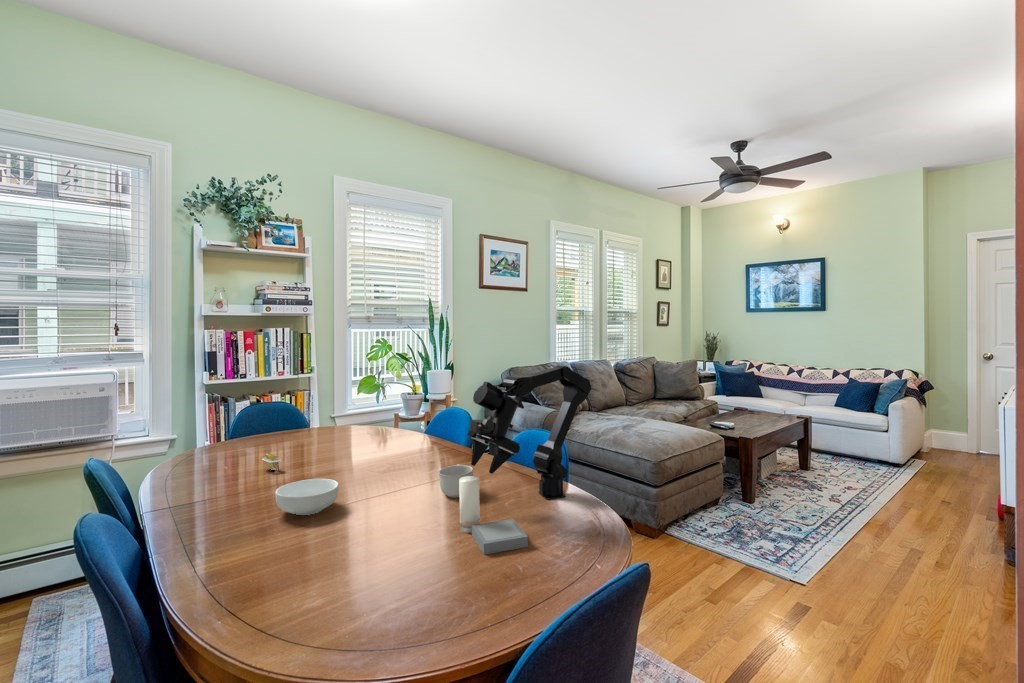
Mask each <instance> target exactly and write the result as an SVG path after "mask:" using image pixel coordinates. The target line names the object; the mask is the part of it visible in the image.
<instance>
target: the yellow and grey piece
mask: <svg viewBox="0 0 1024 683" xmlns="http://www.w3.org/2000/svg"><path fill="white" fill-rule="evenodd" d="M261 460H262V461H264V462H266V463H267V466H268V465H269V468H270V469H271V470H272V469H273V468H276V469H279V464H280V462H282V461H283V459H282V458H279V457H278V455H277V454H274V453H272V452H269V454H266V453H265V456H264V457H262V458H261ZM272 467H273V468H272ZM269 468H268V469H269ZM270 469H269V470H270ZM271 470H270V471H271Z"/></svg>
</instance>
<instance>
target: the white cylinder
mask: <svg viewBox="0 0 1024 683" xmlns="http://www.w3.org/2000/svg"><path fill="white" fill-rule="evenodd" d="M458 498H459V530H460V532H461V533H467V534H469V533H471V534H472V525H476V524H481V518H480V516H481V515H480V514H481V512H480V511H481V510H480V509H481V508H480V507H481V506H480V504H481V503H480V478H479V477H478V476H474V475H473V476H466V477H462V478H460V479H459V497H458Z"/></svg>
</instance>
